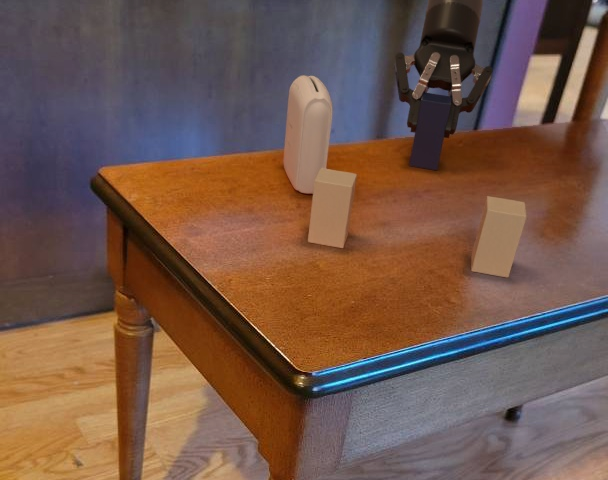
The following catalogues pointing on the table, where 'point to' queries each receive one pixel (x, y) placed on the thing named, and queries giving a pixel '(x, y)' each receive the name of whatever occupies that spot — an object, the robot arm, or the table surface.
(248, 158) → the table surface
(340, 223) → the post
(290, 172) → the photo printer
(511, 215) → the post
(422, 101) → the navy block
